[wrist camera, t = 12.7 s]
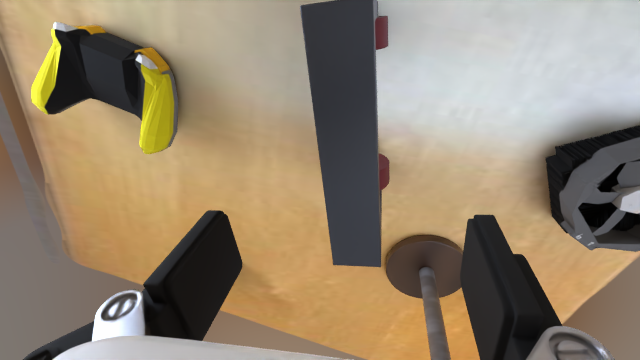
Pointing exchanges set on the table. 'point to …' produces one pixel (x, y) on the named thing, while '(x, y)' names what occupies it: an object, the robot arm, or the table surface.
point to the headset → (348, 122)
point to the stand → (427, 280)
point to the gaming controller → (109, 80)
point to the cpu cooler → (598, 190)
